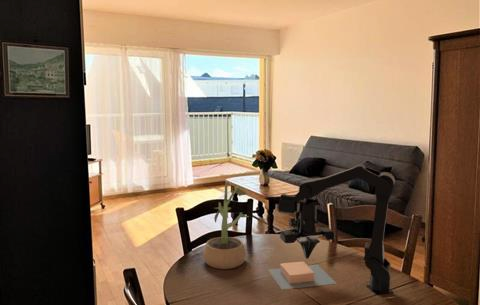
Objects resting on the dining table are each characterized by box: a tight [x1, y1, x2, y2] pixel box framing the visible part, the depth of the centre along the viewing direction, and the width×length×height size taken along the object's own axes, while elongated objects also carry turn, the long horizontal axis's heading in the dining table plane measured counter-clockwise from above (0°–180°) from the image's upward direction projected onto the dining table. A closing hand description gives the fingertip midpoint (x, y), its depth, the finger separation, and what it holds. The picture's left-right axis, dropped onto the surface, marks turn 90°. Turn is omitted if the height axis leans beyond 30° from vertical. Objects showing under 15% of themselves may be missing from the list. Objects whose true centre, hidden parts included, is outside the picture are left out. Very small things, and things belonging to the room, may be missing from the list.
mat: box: [267, 264, 338, 290], centre depth 141 cm, size 16×20×1 cm
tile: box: [279, 261, 315, 284], centre depth 140 cm, size 10×3×9 cm
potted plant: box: [202, 182, 250, 270], centre depth 155 cm, size 22×18×30 cm
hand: (306, 258), depth 140 cm, fingers closed
